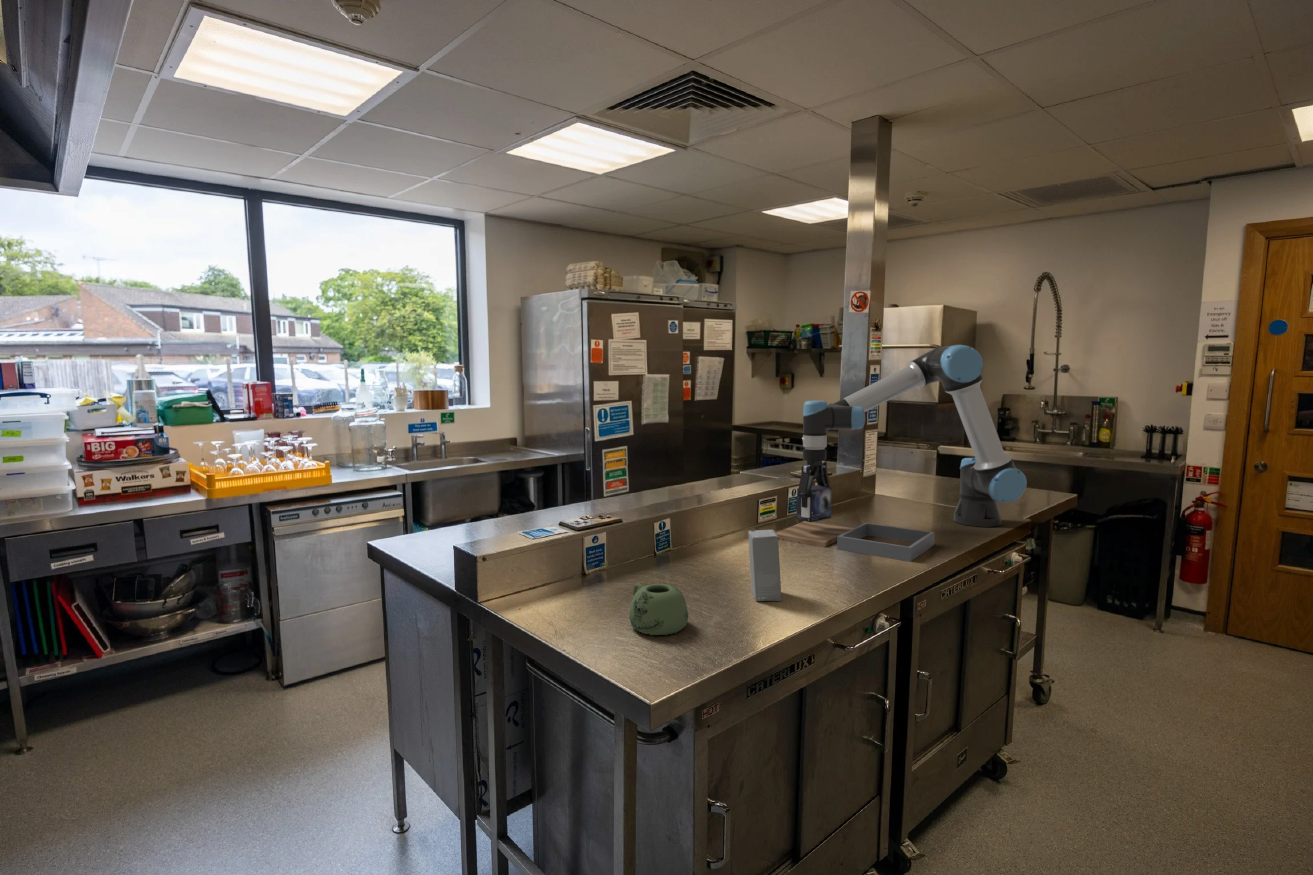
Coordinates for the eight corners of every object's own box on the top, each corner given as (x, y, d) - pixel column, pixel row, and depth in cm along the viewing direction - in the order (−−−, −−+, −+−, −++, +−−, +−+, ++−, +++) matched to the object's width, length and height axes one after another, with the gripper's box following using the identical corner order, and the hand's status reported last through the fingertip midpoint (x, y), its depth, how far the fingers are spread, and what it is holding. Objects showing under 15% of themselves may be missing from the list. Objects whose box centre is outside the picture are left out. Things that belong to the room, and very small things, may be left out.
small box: (810, 523, 209) (811, 490, 208) (795, 519, 214) (795, 488, 213) (832, 518, 215) (832, 487, 214) (816, 514, 220) (816, 484, 219)
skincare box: (782, 601, 155) (782, 536, 153) (751, 602, 155) (751, 537, 153) (776, 589, 163) (776, 528, 161) (747, 590, 163) (747, 528, 162)
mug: (701, 628, 140) (700, 589, 139) (652, 644, 132) (651, 603, 131) (657, 607, 152) (656, 571, 152) (610, 620, 145) (609, 583, 144)
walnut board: (804, 525, 229) (804, 521, 229) (853, 532, 218) (853, 528, 218) (773, 538, 212) (773, 533, 212) (824, 547, 201) (824, 542, 201)
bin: (865, 534, 215) (865, 522, 215) (934, 544, 201) (934, 532, 201) (837, 549, 198) (837, 536, 198) (910, 561, 185) (910, 547, 184)
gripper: (819, 443, 224) (819, 506, 226) (786, 451, 205) (786, 518, 208) (840, 445, 219) (839, 508, 221) (808, 452, 201) (808, 522, 203)
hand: (813, 513), depth 214 cm, fingers closed on small box, 11 cm apart
